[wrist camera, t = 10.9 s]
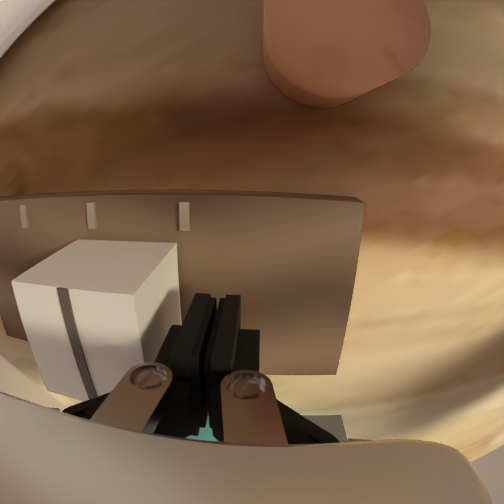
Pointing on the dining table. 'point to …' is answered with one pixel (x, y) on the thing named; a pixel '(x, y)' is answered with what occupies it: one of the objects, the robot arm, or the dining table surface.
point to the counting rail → (214, 257)
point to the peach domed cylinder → (341, 46)
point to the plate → (18, 19)
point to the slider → (98, 311)
